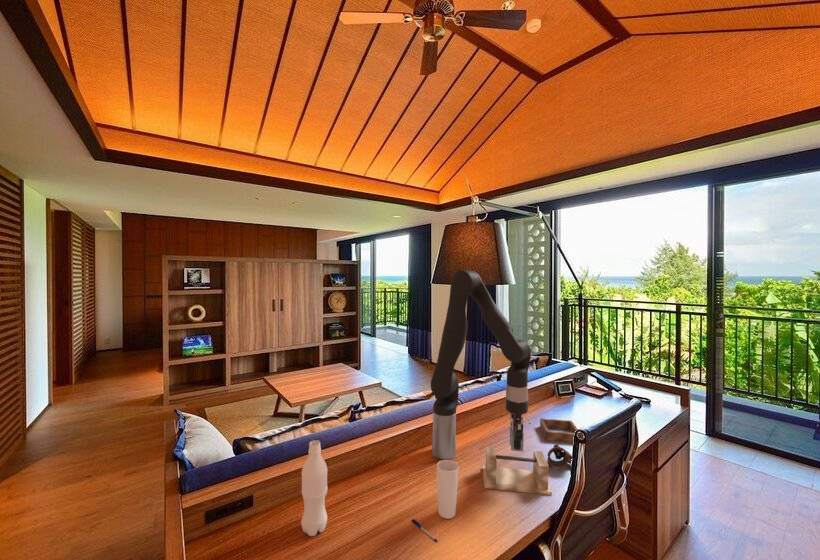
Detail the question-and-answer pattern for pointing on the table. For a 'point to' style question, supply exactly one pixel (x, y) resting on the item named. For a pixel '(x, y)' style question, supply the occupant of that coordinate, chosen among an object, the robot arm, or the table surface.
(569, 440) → the open wooden frame
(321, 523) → the water bottle
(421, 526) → the ballpoint pen
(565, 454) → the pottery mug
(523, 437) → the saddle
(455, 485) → the drinking glass
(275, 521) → the table surface
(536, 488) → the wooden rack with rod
